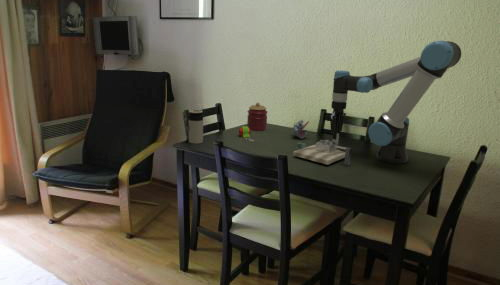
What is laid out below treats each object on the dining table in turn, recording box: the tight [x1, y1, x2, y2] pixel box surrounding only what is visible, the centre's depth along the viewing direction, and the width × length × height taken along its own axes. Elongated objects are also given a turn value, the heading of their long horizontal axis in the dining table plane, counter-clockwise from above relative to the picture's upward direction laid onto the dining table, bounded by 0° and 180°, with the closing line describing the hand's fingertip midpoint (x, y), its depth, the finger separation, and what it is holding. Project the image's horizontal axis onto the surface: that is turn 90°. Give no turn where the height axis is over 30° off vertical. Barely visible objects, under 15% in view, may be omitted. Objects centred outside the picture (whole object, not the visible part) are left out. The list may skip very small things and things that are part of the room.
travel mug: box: [188, 109, 204, 144], centre depth 218 cm, size 8×8×18 cm
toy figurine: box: [290, 119, 310, 140], centre depth 237 cm, size 11×11×12 cm
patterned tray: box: [292, 141, 345, 165], centre depth 200 cm, size 24×20×4 cm
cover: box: [315, 139, 339, 153], centre depth 202 cm, size 8×8×5 cm
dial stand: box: [335, 145, 352, 167], centre depth 191 cm, size 8×2×8 cm, turn 48°
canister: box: [246, 102, 268, 132], centre depth 254 cm, size 13×13×18 cm
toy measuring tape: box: [238, 125, 255, 143], centre depth 232 cm, size 6×20×7 cm, turn 19°
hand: (334, 144), depth 209 cm, fingers closed
